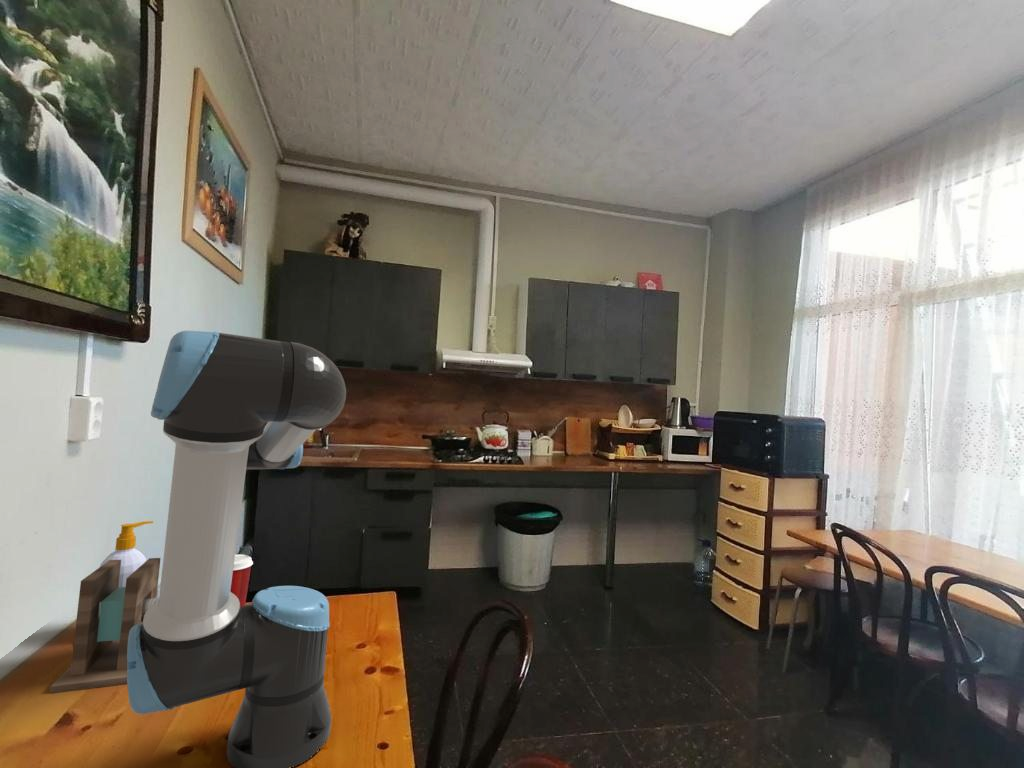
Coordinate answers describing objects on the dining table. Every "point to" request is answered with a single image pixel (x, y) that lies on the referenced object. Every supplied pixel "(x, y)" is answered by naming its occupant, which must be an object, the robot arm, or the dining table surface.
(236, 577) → the coffee cup
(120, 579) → the soap bottle
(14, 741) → the dining table surface
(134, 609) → the block
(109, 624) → the spacer
